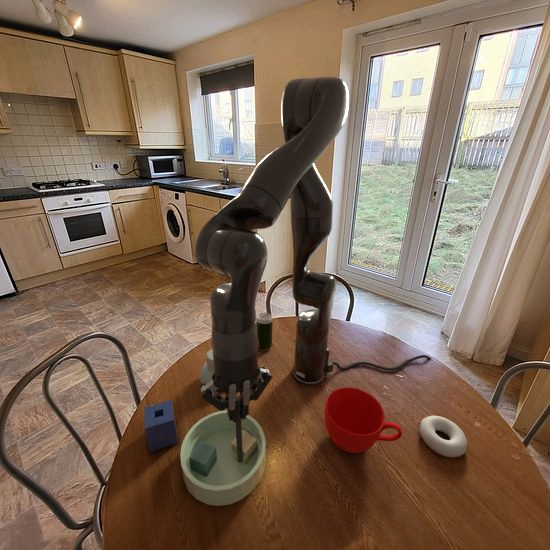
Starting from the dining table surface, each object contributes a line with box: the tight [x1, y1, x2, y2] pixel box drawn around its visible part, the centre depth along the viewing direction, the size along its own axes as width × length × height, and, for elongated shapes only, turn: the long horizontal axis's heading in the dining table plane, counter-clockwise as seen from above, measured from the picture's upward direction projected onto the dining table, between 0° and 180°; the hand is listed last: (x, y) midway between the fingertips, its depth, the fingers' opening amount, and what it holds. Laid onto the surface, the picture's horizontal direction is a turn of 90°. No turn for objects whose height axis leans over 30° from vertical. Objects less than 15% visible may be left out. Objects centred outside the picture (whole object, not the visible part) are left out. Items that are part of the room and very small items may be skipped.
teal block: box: [189, 441, 217, 477], centre depth 62 cm, size 4×4×4 cm
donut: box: [419, 415, 468, 458], centre depth 69 cm, size 10×3×10 cm
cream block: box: [231, 430, 257, 465], centre depth 64 cm, size 4×4×4 cm
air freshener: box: [198, 348, 221, 391], centre depth 83 cm, size 11×8×10 cm
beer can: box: [256, 312, 274, 352], centre depth 98 cm, size 5×5×12 cm
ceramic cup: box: [324, 386, 403, 454], centre depth 67 cm, size 13×17×10 cm
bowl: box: [179, 409, 267, 507], centre depth 63 cm, size 18×18×6 cm
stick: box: [235, 395, 243, 463], centre depth 58 cm, size 1×1×18 cm
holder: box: [143, 399, 179, 453], centre depth 67 cm, size 6×6×8 cm
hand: (238, 417), depth 56 cm, fingers closed on stick, 1 cm apart
